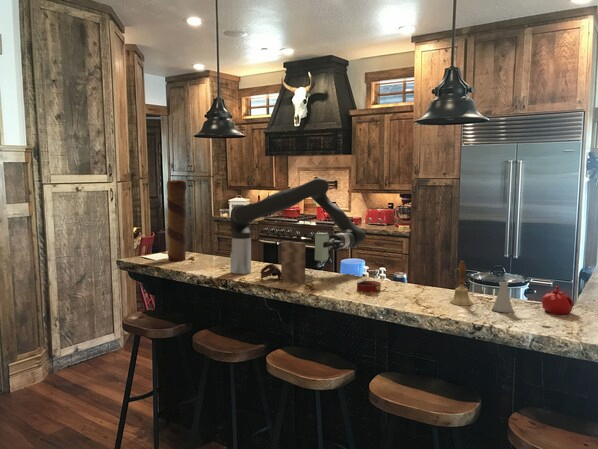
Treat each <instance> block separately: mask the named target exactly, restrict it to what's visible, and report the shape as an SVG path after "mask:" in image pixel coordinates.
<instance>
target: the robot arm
mask: <svg viewBox="0 0 598 449" xmlns="http://www.w3.org/2000/svg"><path fill="white" fill-rule="evenodd" d="M329 188H330V187H329V182H328V181H327V180H326V179H325V178H322V177H317V178H314V179H312V180H309V181H307V182H306V183H304V184H301V185H298V186H295V187H291V188H287V189H285V190H281V191H278V192H274V193H273V194H270V195H269V196H266V197H265V198H263V199H262V200H259V201H257V202H252V203H247V204H236V205H234V206H233V207H232V208H231V210H230V232H231V252H230V264H229V265H230V266H229V268H230V273H232V274H233V275H234V274H236V275H247V274H250V273H252V238H251V237H252V234H251V233H252V232H251V230H250V222H253V221H256V220H257V219H259V218H262V217H264V216H268V215H273V214H275V213H279V212H282V211H284V210H287V209H291V208H293V207H294V206H296V205H298V204H300V203H301V202H302V201H303V200H306V199H308V198H311V199H312V200H313V201H314V202H315V203H316V204H318V206H320V208H321V209H323V210H324V212H325V213H326V214H327V215H328V216H329V218H330V219H332V221H333V223H334V224H335V225H336V226H337V228H339V230H340V231H341V232H338V233H333V234H330V235H329V241H328V242H324V243H323V247H324V248H326V247H328V248H330V250H332V251H337V250H341V249H346V248H349V249H354V248H356V247H357V246H359V245H360V244H361V243H363V241H365V240H366V236H367V235H366V233H365V231H364V230H363V229H361V228H360V226H358V225H357V224H355V223H354V222H353V221H352V220H351V219H350V218H349V217H348V215H347V214H346V212H344V211H343V209H341V208H340V207H338V206H337V205H336V204H335V203H334V202H332V201H331V199H330V198H329V197H328V195H327V193H328V190H329ZM348 230H350V231H351V232H346V231H348ZM314 247H315V241H314Z"/></svg>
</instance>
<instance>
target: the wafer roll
mask: <svg viewBox="0 0 598 449" xmlns="http://www.w3.org/2000/svg"><path fill="white" fill-rule="evenodd" d="M186 193H187V181H186V180H185V179H172V180H167V183H166V196H167V197H166V201H167V202H166V203H167V204H166V205H167V240H168V243H167V244H168V246H167V247H168V248H167V257H168V260H169V261H171V262H182V261H186V255H187V254H186V253H187V252H186V248H187V247H186V245H187V241H186V240H187V239H186V238H187V236H186V233H187V232H186V231H187V230H186V228H187V227H186V226H187V208H186V206H187V201H186V199H187V198H186V195H187V194H186Z"/></svg>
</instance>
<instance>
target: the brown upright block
mask: <svg viewBox="0 0 598 449" xmlns="http://www.w3.org/2000/svg"><path fill="white" fill-rule="evenodd" d="M280 242H281V244H280V245H281V247H280V248H281V253H280V254H281V258H280V260H281V261H280V262H281V267H280V268H281V269H280V271H281V278H280V280H281V282H288V283H294V284H301V285H305V284H306V283H311V282H313V281H314V275H313V274H307V273H306V242H300V241H299V242H296V241H287V240H281V241H280Z"/></svg>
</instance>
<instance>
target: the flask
mask: <svg viewBox="0 0 598 449" xmlns="http://www.w3.org/2000/svg"><path fill="white" fill-rule="evenodd" d="M498 286H499V290H498V293H497V296H496V298H495V301H494V303H493V305H492V307H491V311H494V312H498V313H505V314H509V313H514V308H513V306H512V303H511V300H510V296H509V291H508V286H509V282H505V281H499V282H498Z"/></svg>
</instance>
